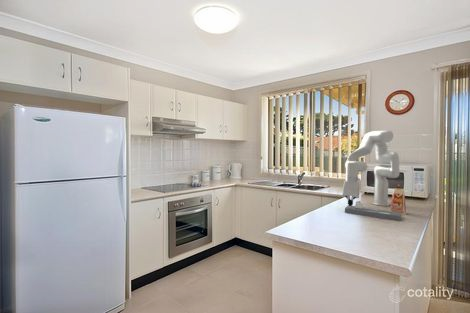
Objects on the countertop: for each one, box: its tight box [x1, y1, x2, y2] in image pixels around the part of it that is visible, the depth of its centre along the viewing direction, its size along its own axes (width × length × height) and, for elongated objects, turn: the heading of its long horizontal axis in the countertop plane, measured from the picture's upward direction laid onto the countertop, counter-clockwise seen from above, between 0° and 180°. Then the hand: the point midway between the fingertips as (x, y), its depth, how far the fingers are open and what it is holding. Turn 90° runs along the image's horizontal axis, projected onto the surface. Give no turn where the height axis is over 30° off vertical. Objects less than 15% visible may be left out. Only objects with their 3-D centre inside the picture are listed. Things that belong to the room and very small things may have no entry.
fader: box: [354, 200, 364, 209], centre depth 172 cm, size 5×4×4 cm
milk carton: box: [389, 184, 407, 216], centre depth 176 cm, size 9×9×20 cm
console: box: [344, 204, 402, 222], centre depth 168 cm, size 12×32×3 cm, turn 56°
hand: (350, 205), depth 176 cm, fingers closed
